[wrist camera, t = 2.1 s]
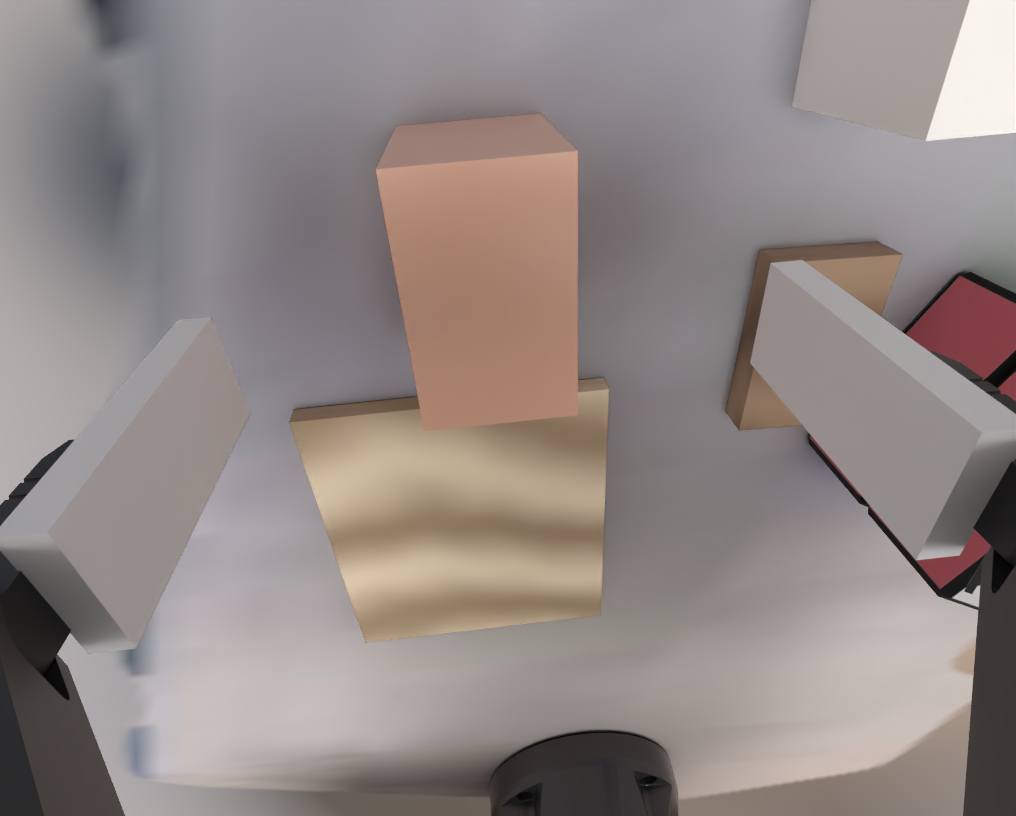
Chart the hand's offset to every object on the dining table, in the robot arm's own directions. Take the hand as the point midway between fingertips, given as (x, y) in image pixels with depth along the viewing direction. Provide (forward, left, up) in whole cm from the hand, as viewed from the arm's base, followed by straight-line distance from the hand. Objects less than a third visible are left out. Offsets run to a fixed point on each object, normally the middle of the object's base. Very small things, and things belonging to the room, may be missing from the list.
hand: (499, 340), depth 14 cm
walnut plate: (-6, -14, -10) cm, 18 cm away
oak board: (-15, +2, -10) cm, 18 cm away
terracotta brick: (0, 0, -10) cm, 10 cm away
